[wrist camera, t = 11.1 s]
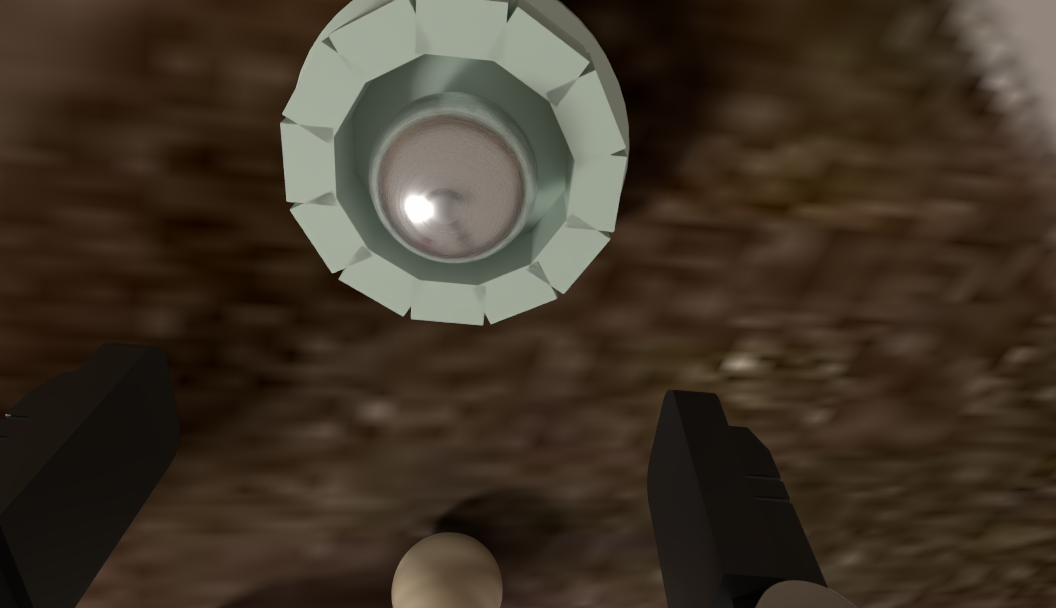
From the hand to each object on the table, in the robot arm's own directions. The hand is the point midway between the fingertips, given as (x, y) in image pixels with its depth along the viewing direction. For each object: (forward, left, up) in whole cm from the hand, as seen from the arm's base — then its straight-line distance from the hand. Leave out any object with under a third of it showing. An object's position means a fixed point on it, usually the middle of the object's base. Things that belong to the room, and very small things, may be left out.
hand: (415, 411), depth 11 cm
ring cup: (0, 0, -14) cm, 14 cm away
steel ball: (0, 0, -13) cm, 13 cm away
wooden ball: (-10, +17, -14) cm, 25 cm away
